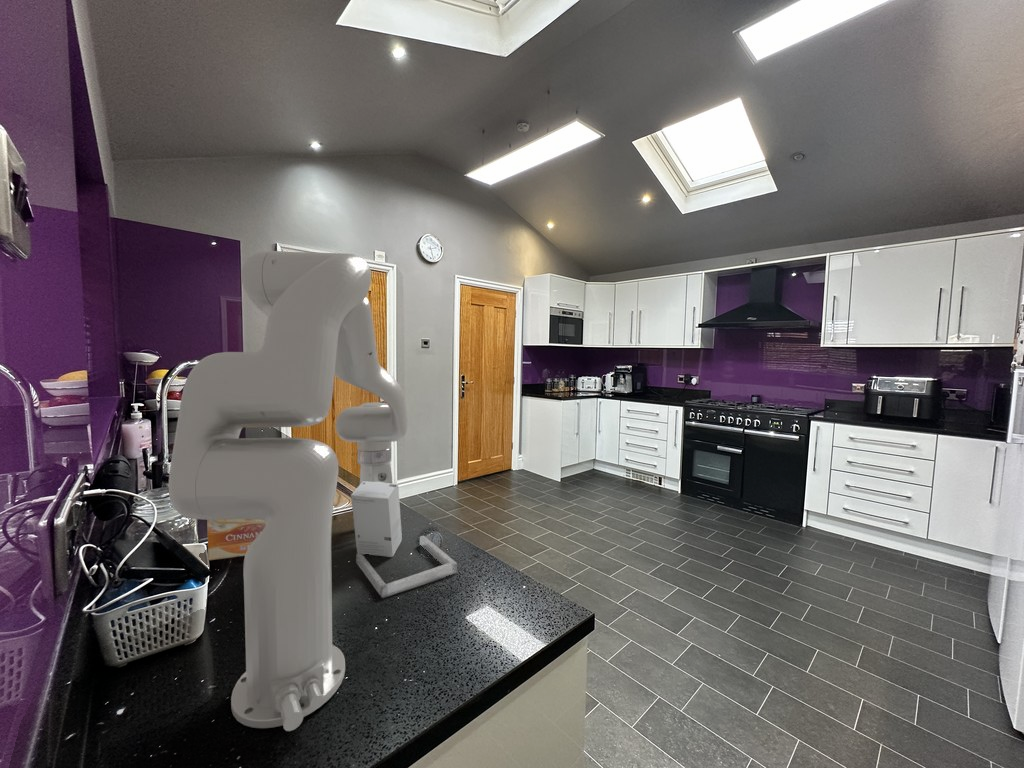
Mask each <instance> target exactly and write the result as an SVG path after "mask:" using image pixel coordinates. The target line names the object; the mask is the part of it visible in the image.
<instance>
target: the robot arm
mask: <svg viewBox="0 0 1024 768" xmlns="http://www.w3.org/2000/svg"><path fill="white" fill-rule="evenodd" d="M240 276H241V277H240V278H241V283H242V287H243V289H244V291H245V293H246V296H247V297H248V299H249V300H250V301H251V303H252V304H253V305H255V307H256V308H257V309H259V311H261V312H262V313H263V314H264V315H266V316H267V320H266V321H267V322H266V326H265V327H266V328H265V333H264V339H263V343H262V346H261V348H260V350H258V351H255V352H253V351H252V352H250V351H224V352H216V353H213V354H210V355H207V356H204V357H203V358H202V359H200V360H199V361H198V362H197V363H196V364H195V365H194V366H193V367H192V369H191V370H190V372H189V374H188V375H187V378H186V380H185V382H184V386H183V389H182V395H181V398H180V405H179V411H178V417H177V421H176V422H177V423H176V429H175V436H174V441H173V447H172V449H173V450H172V453H171V454H172V456H171V461H170V466H169V476H168V495H169V500H170V504H171V505H172V507H173V509H174V510H175V512H177V513H178V514H180V515H181V516H183V517H184V518H188V519H192V520H193V519H194V520H207V519H214V520H217V519H260V520H264V521H265V522H266V526H265V528H264V529H263V531H262V532H261V533H260V534H259V535H258V536H257V537H256V539H255V540H254V541H253V542H252V543H251V545H250V546H249V548H248V550H247V552H246V555H245V556H244V559H243V565H242V566H243V571H242V572H243V573H242V574H243V575H242V576H243V595H244V596H243V597H244V599H243V600H244V632H245V633H244V638H245V670H246V671H245V672H244V673H242V675H241V676H240V678H239V679H238V680H237V682H236V683H235V685H234V687H233V689H232V691H231V696H230V701H231V702H230V706H231V707H230V708H231V709H230V710H231V712H232V715H233V717H234V718H235V720H236V721H237V722H239V723H240V724H242V725H243V726H246V727H249V728H252V729H253V728H255V729H269V728H270V729H271V728H272V729H273V728H276V727H282V726H283V730H285V732H291V731H294V730H296V729H297V728H298V727H300V725H301V724H302V723H303V720H304V718H305V717H306V716H308V715H309V716H310V714H312V713H314V712H315V711H316V710H317V709H319V708H321V707H322V706H323V705H324V704H325V703H327V702H328V701H329V700H330V699H331V698H332V697H333V695H335V693H336V692H337V690H338V689H339V687H340V686H341V685H342V683H343V680H344V677H345V672H346V660H345V655H344V653H343V651H342V650H341V649H340V648H338V647H337V646H336V645H334V644H333V600H332V599H333V597H332V594H333V593H332V592H333V591H332V589H333V585H332V584H333V582H332V579H333V578H332V526H333V513H334V512H333V511H334V505H335V504H334V503H335V498H336V492H337V486H338V479H339V469H340V468H339V460H338V457H337V456H338V455H337V454H336V452H335V451H334V449H332V447H331V446H329V445H327V444H326V443H324V442H323V441H322V442H321V441H319V440H317V439H316V440H315V439H311V438H303V437H259V438H256V437H253V438H248V437H247V438H246V437H245V438H243V437H242V438H240V435H241V431H242V430H243V428H300V427H301V428H302V427H310V426H315V425H317V424H319V423H322V422H323V421H324V420H325V419H326V418H327V416H328V415H329V412H330V409H331V406H332V400H333V394H334V393H333V392H334V383H335V377H336V378H337V379H339V380H340V381H342V382H344V383H347V384H349V385H351V386H354V387H356V388H358V389H361V390H363V391H366V392H369V393H371V394H373V395H374V396H377V397H379V399H382V400H383V402H379V401H378V402H377V401H376V402H374V401H373V402H372V401H371V402H364V403H361V404H360V405H359V406H350V407H347V408H344V409H343V410H342V411H341V412H340V413H339V415H337V418H336V419H335V420H336V421H335V431H336V433H337V436H338V437H339V438H340V439H341V440H343V441H345V442H348V443H349V442H350V443H357V464H358V465H360V467H359V468H360V469H359V470H360V471H359V472H360V473H359V485H360V484H361V482H362V481H368V482H384V483H391V484H393V473H392V466H391V461H392V442H398V441H401V440H402V439H403V438H404V437H405V436H406V435H407V434H406V433H407V431H408V412H407V403H406V402H407V401H406V397H405V394H404V391H403V389H402V387H401V385H400V384H399V383H398V382H397V380H396V379H395V377H394V376H393V375H392V374H391V373H390V372H388V371H387V370H386V369H385V368H384V367H383V366H382V365H380V363H379V360H378V350H377V344H376V343H377V342H376V336H375V329H374V328H375V327H374V321H373V320H374V319H373V313H372V312H373V311H372V307H371V303H370V301H369V299H368V297H367V296H368V293H369V291H370V287H371V286H372V285H371V284H372V270H371V267H370V265H369V263H368V262H367V261H366V260H365V259H364V258H362V257H361V256H359V255H356V254H353V253H340V252H314V251H304V252H303V251H284V250H280V251H279V250H261V251H256V252H253V253H252V254H250V255H248V256H247V257H246V258H245V260H244V262H243V264H242V265H241V273H240Z"/></svg>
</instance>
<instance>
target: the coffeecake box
mask: <svg viewBox="0 0 1024 768" xmlns="http://www.w3.org/2000/svg"><path fill="white" fill-rule="evenodd" d="M206 521H207V522H206V523H207V525H206V526H207V555H208V557H207V558H209V560H208V561H214V560H215V561H216V560H222V559H230V558H236V557H237V558H238V557H245V555H246V552H247V550H248V548H249V546H250V545H251V543H252V542H253V541H254V540H255V539H256V537H257V536H258V535H259V534H260V533H261V532H262V531H263V529H264V528H265V526H266V522H265V521H264V520H260V519H217V520H214V519H206Z"/></svg>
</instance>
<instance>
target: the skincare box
mask: <svg viewBox="0 0 1024 768" xmlns="http://www.w3.org/2000/svg"><path fill="white" fill-rule="evenodd" d="M350 499H351V507H352V509H351V510H352V516H353V517H352V519H353V527H354V534H355V535H354V536H355V538H354V539H355V546H356V554H359V553H362V555H365V554H369V555H370V556H378V557H379V556H381V557H387V558H392V557H394V556H395V553H396V552H397V549H398V548H399V546H400V545H401V542H402V540H403V537H402V536H403V535H402V520H401V506H400V491H399V484H398V483H392V484H391V483H384V482H368V481H362V482H361V484H360V483H359V485H358V486H357V487H356V489H355V490H354V491H353V492H351V494H350ZM369 555H368V556H369Z"/></svg>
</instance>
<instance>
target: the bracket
mask: <svg viewBox="0 0 1024 768" xmlns="http://www.w3.org/2000/svg"><path fill="white" fill-rule="evenodd" d="M420 545H421V546H422V547H423V548H424V549H423V548H422V547H421V546H420ZM419 546H420V547H421V548H422V549H423V550H425V549H426V550H427V551H428V552H429V553H430V554H431V555H432V556H433V557H432V558H433V559H434V560H436V559H437V560H436V561H437V562H438V561H439V562H440V563H441V564H442V565H441V564H440V563H439V562H438V563H439V564H440V565H438V566H436V567H433V568H430V569H427V570H423V571H420V572H418V573H415V574H412V575H409V576H406V577H403V578H400V579H398V580H394V581H391V582H388V583H386V582H384V580H383V579H382V578H381V576H380V575H379V573H377V571H376V570H375V569H374V567H373V566H372V565H371V564H370V562H369V560H367V558H366V557H365V556H364V554H362V553H359V554H358V553H356V554H355V562H356V564H357V566H358V567H359V568H360V570H361V571H362V572H363V574H364V576H365V577H366V578H367V579H368V581H369V582H370V583H371V585H372V586H373V588H374V589H375V590H376V592H377V593H378V594H379V596H380V598H382V599H384V598H388V597H391V596H393V595H396V594H399V593H403V592H405V591H408V590H411V589H415V588H418V587H420V586H424V585H426V584H430V583H432V582H435V581H438V580H441V579H444V578H447V577H450V576H451V575H455V574H457V573H458V563H457V562H456V561H455V560H454V559H453V558H451V557H450V555H448V554H447V553H446V552H445V551H443V550H442V549H441V548H439V547H438V546H437V545H436V544H435V543H434V542H433V541H431V540H430V539H428V537H427V536H425V535H420V536H419ZM426 550H425V551H426ZM427 551H426V552H427ZM428 552H427V553H428ZM429 553H428V554H429ZM430 554H429V555H430ZM431 555H430V556H431ZM449 575H450V576H449ZM446 576H447V577H446Z"/></svg>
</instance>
